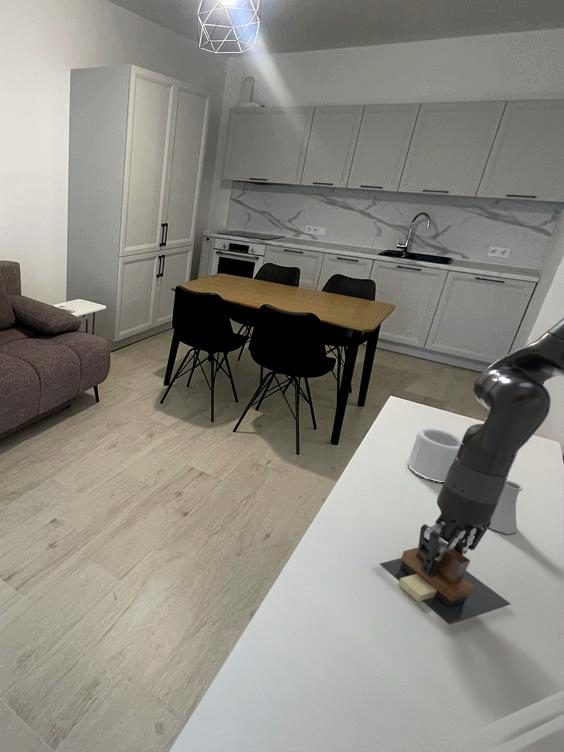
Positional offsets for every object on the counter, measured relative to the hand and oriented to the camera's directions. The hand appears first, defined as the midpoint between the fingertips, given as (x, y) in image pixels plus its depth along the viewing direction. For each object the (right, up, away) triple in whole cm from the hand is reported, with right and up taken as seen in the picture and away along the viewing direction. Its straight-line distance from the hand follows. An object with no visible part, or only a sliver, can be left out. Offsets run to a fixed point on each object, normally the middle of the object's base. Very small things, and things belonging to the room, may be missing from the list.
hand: (438, 570), depth 86 cm
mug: (+25, +9, +41) cm, 49 cm away
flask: (+27, +1, +22) cm, 34 cm away
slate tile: (+2, -4, +2) cm, 5 cm away
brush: (0, -3, +1) cm, 3 cm away
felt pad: (-4, -3, 0) cm, 5 cm away
